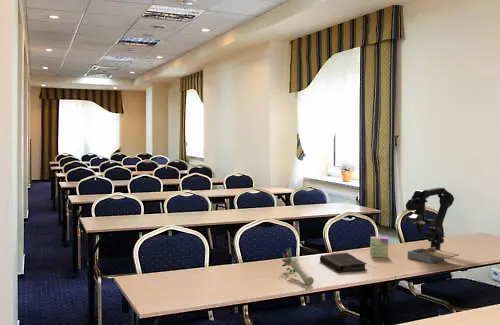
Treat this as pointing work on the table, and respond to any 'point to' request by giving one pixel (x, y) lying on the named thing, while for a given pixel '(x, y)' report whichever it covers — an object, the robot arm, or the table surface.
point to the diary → (343, 262)
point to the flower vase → (297, 268)
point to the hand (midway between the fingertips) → (419, 233)
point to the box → (379, 247)
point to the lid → (438, 253)
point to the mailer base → (422, 256)
